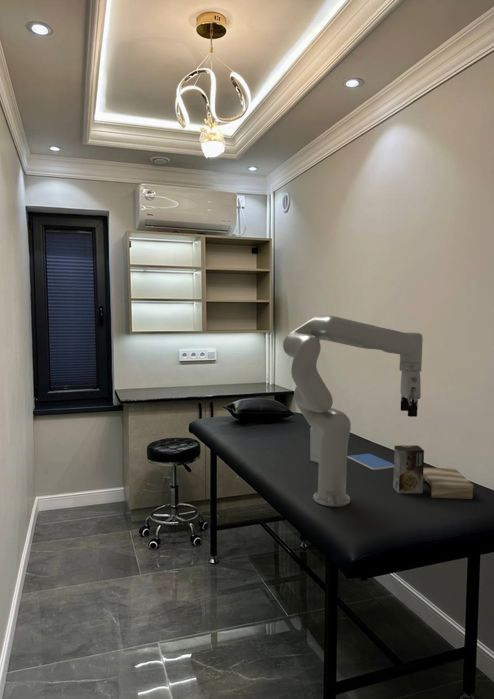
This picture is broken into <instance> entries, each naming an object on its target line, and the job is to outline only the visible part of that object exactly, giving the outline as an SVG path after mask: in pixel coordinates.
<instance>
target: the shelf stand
mask: <svg viewBox="0 0 494 699" xmlns="http://www.w3.org/2000/svg"><path fill="white" fill-rule="evenodd" d="M423 482H427V483H428V484H429V485H430V497H431V498H437V499H439V498H441V499H464V500H465V499H466V500H468V499H469V500H472V498H473V499H474V497H473V495H474V484H473V483H472V482H470V480H468V479H467V478H466V477H465V476H464V475H463V474H462V473H460V472H459V470H457V469H456V468H450V467H447V468H446V467H424V468H423Z"/></svg>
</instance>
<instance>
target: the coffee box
mask: <svg viewBox="0 0 494 699" xmlns="http://www.w3.org/2000/svg"><path fill="white" fill-rule="evenodd" d="M393 456H394V457H393V464H394V468H393V479H392V480H393V481H392V484H393V486H392V487H393V488H392V489H394V490H395V491H396V493H398V494H423V492H424V481H423V468H425V465H424V463H425V450H424V449H423V448H422V447H421V446H419V445H414V444H413V445H394V454H393Z"/></svg>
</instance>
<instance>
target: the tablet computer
mask: <svg viewBox="0 0 494 699" xmlns="http://www.w3.org/2000/svg"><path fill="white" fill-rule="evenodd" d="M347 459H350V460H351V461H354V462H356V463H358V464H360V465H362V466H364V467H366V468H368V469H369V470H373V471H380V470H386V469H394V463H392V462H390V461H388V460H385V459H384V458H380V457H378V456H376V455H374V454H372V453H361V454H353V455H347Z"/></svg>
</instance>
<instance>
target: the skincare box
mask: <svg viewBox="0 0 494 699" xmlns="http://www.w3.org/2000/svg"><path fill="white" fill-rule="evenodd" d="M309 436H310V437H309V438H310V441H309V442H310V446H309V447H310V451H309V452H310V453H309V454H310V455H309V456H310V458H309V459H310V461H312V462H314V463H317V464H319V446H320V442H321V440H322V437H323V434H322V433H320V432H318V431H316V430H315V429H313V428H312V427H309Z"/></svg>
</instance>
